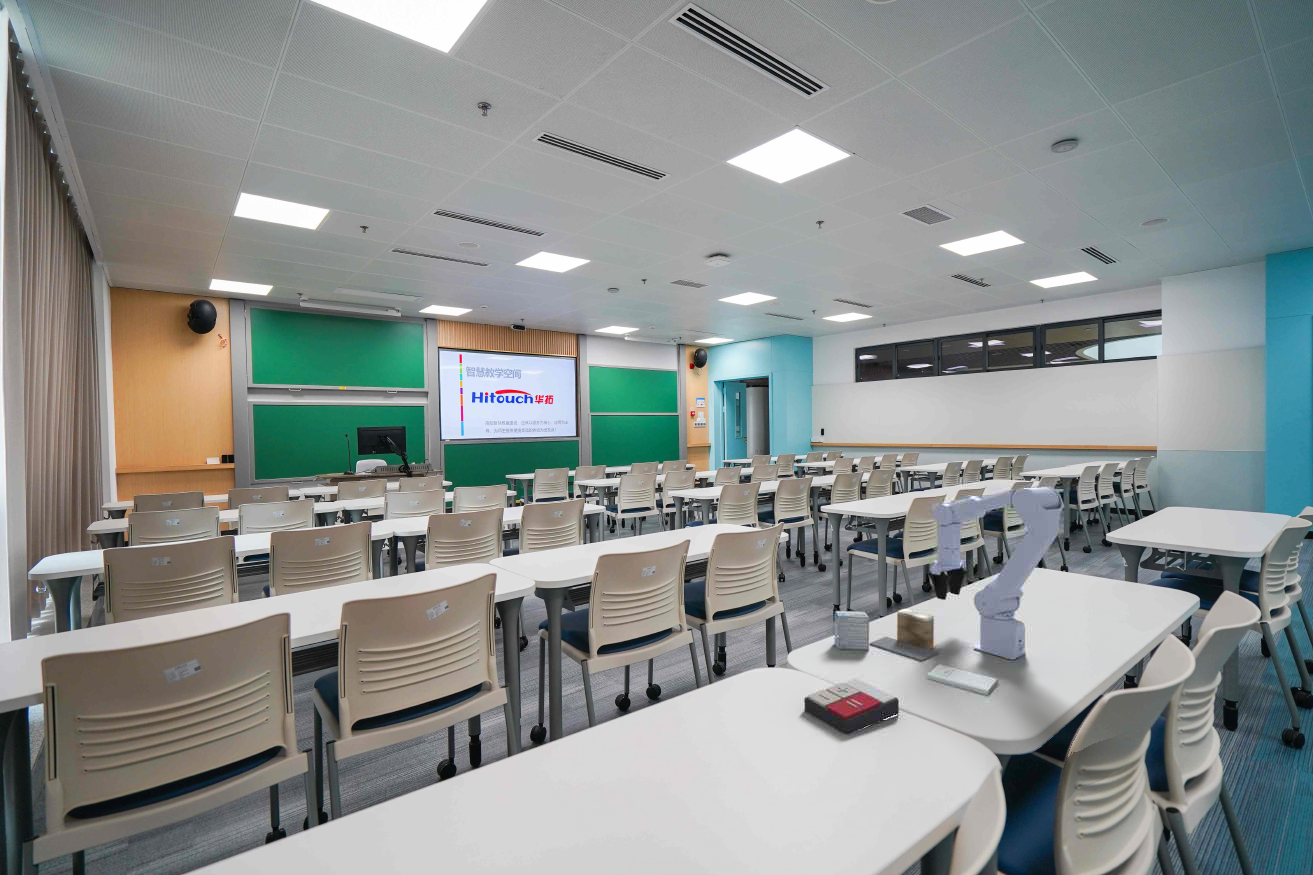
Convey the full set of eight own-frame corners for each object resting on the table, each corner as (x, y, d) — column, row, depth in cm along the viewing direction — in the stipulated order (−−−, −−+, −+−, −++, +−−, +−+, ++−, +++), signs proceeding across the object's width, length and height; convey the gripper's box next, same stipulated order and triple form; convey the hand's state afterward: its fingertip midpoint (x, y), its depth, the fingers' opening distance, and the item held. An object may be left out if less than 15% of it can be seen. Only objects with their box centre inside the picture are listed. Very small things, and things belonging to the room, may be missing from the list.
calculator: (803, 694, 119) (855, 674, 127) (803, 715, 120) (855, 694, 127) (845, 717, 110) (899, 695, 117) (846, 740, 110) (899, 716, 118)
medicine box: (865, 644, 155) (865, 611, 155) (869, 650, 151) (869, 616, 151) (834, 643, 156) (834, 610, 156) (837, 649, 152) (837, 615, 152)
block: (933, 646, 154) (933, 616, 153) (926, 650, 151) (926, 618, 151) (904, 638, 160) (904, 608, 160) (897, 641, 158) (897, 611, 158)
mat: (937, 653, 149) (937, 652, 149) (921, 661, 144) (921, 659, 144) (886, 637, 160) (886, 636, 160) (869, 644, 155) (869, 642, 155)
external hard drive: (987, 697, 126) (926, 680, 135) (997, 685, 132) (938, 669, 141) (988, 690, 126) (926, 673, 135) (998, 678, 132) (938, 662, 141)
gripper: (947, 541, 172) (946, 588, 172) (921, 548, 163) (920, 597, 163) (972, 545, 166) (971, 594, 166) (946, 552, 157) (946, 603, 158)
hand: (948, 596), depth 164 cm, fingers open, 7 cm apart
